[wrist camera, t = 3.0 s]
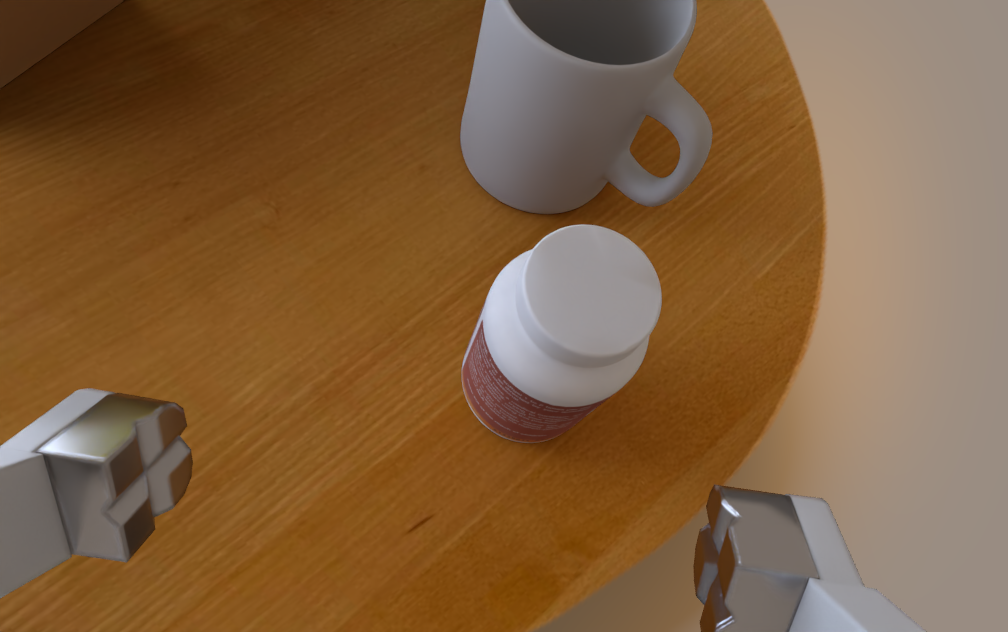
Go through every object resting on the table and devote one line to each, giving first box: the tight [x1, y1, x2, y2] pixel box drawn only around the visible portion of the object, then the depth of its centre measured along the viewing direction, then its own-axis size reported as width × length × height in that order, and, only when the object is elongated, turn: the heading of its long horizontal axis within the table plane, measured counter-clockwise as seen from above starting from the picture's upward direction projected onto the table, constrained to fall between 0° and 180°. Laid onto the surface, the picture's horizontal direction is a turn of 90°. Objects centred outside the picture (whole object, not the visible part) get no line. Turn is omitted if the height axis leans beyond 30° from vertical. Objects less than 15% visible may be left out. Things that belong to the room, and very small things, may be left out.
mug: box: [460, 0, 713, 214], centre depth 31 cm, size 12×8×11 cm
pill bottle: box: [462, 224, 662, 443], centre depth 26 cm, size 6×6×11 cm
